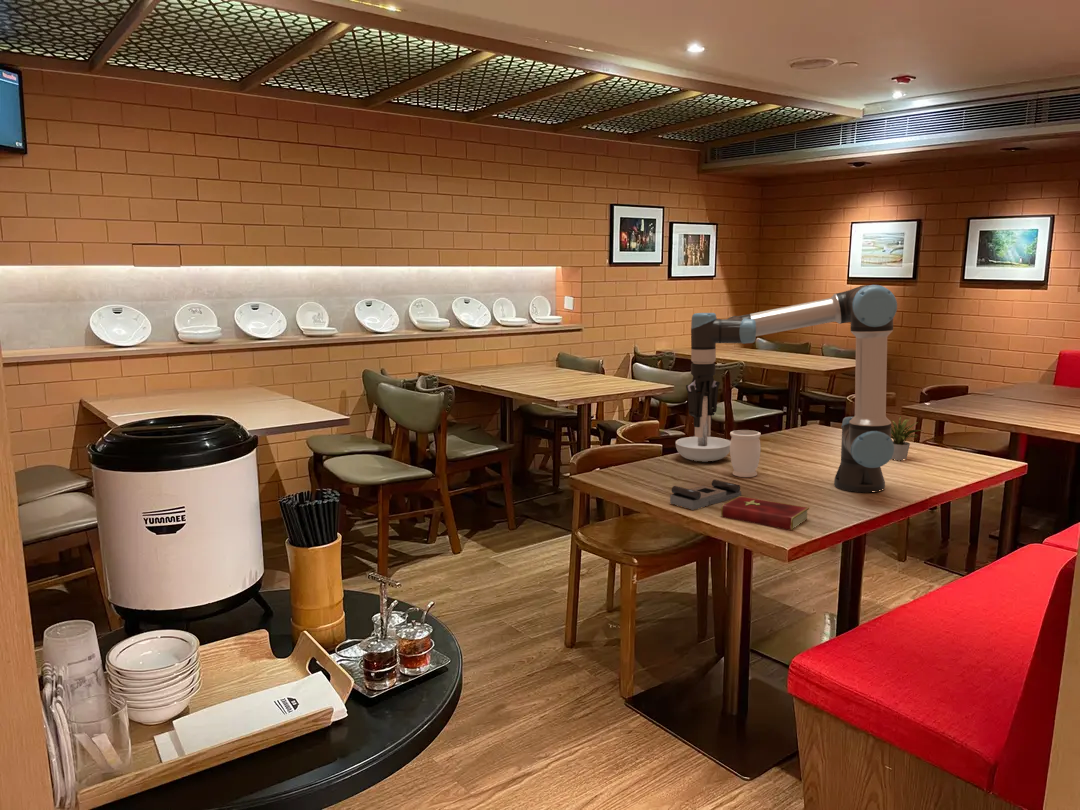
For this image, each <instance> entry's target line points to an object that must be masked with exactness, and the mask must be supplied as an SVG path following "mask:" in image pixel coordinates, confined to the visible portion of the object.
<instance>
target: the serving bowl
mask: <svg viewBox="0 0 1080 810" xmlns="http://www.w3.org/2000/svg"><path fill="white" fill-rule="evenodd" d="M730 442H731V440H730V439H727V438H726V439H725V438H721V437H715V436H707V446H698V437H695V436H689V437H681V438H679V439H677V440H675V448H676V450H677V452H678V454H679V455H680V456H681V457H683V458H685V459H687V460H690V461H693V460H694V461H693V462H697V461H702V462H701V463H709V462H708V461H712V462H714V461H718V460H722V459H724V458H725V457H727V456H728V455H729V454H730Z"/></svg>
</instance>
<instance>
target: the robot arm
mask: <svg viewBox="0 0 1080 810" xmlns="http://www.w3.org/2000/svg"><path fill="white" fill-rule="evenodd" d="M897 310H898V301H897V298H896V296H895V295H894V293H893V292H892V291H891V290H890V289H888V288H887V287H885V286H884V285H880V284H865V285H860V286H857V287H854V288H851V289H848V290H845V291H841V292H838V293H833V295H832V296H831V297H828V298H822V299H818V300H812V301H807V302H802V303H797V304H792V305H788V306H787V305H786V306H782V307H778V308H773V309H767V310H763V311H762V310H761V311H758V312H754V313H749V314H743V315H733V316H730V317H728V318H721V319H720V318H717V314H716V313H715V312H697V313H696V312H695V313H693V314H692V316H691V325H690V326H691V327H690V339H691V340H690V343H691V345H690V346H691V347H690V348H691V351H690V353H691V354H690V361H691V364H690V374H691V375H692V380H691V383H690V384H686V386H685V388H686V392H687V405H688V406H687V407H688V414H689V416H691V417H693V427H694V437H700V438H702V437H703V417H701V412H702V403H703V396H704V395H707V396H708V421H707V437H712V436H711V427H712V426H711V425H712V419H713V418H712V416H715V415H716V414H715V413H717V409H718V397H719V387H720V384H721V383H720V381H716V380H715V378H714V376H715V375H716V363H715V362H716V360H717V359H716V358H717V356H716V355H717V350H716V349H717V348H716V347H717V346H716V344H744V345H745V344H753V343H755V342H756V340H757V339H756V337H759V336H764V335H771V334H776V333H780V332H786V331H787V332H788V331H791V330H796V329H802V328H807V327H808V328H809V327H813V326H817V325H825V324H829V323H834V322H836V323H837V324H839V325H841V324H846V323H850V333H852V335H853V336H854V337H855V373H854V374H855V376H854V377H855V380H854V381H855V382H854V384H855V385H854V387H855V388H854V391H855V392H854V416H846V417H844V418H842V424H841V426H840V427H841V449H840V464H839V467H838V469H837V470H836V474H835V477H834V482H833V486H834V485H835V486H834V487H836V488H837V489H839V488H840V489H839V490H842V489H843V491H846V490H848V491H847V492H851V491H856V492H855V493H861V492H872V491H879V490H882V489H884V488H885V489H886V480H885V477H884V474H883V471H882V468H881V467H883V466H885V465H887V464H888V462H890V461H891V458H892V456H893V454H894V444H893V441H894V440H893V438H891V436H892V434H891V428H892V427H891V426H892V421H891V419H889V418H888V417H887V413H886V412H887V372H888V367H887V366H888V365H887V364H888V363H887V362H888V338H889V336H890V334H891V333H893V331H894V318H895V315H896V313H897ZM885 489H884V490H885Z"/></svg>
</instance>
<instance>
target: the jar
mask: <svg viewBox="0 0 1080 810" xmlns="http://www.w3.org/2000/svg"><path fill="white" fill-rule="evenodd" d="M729 435H730V437H731V439H730V441H731V442H730V452H729V455H730V456H729V457H730V462H731V466H732V469H733V471H732V473H731V474H732V475H733V476H735V477H739V478H753V477H756V476H757V475H758V471H756V470H757V469H758V466H759V463H760V457H761V450H762V449H761V440H760V437H761V431H760V432H759V431H756V430H752V429H751V430H749V429H738V430H732V431H730V433H729Z"/></svg>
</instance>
